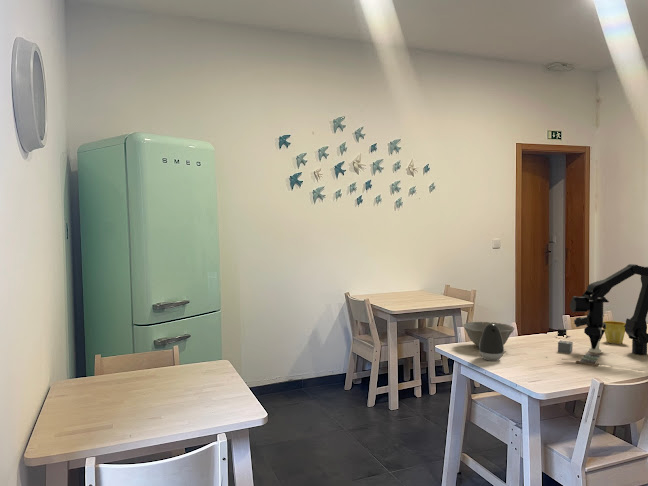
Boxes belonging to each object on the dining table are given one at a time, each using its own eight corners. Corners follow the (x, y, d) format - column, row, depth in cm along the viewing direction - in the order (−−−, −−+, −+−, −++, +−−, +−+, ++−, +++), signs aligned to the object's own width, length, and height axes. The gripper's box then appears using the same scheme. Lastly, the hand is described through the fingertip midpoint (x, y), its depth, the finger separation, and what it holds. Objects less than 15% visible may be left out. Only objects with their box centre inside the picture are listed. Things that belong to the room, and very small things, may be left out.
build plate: (564, 340, 250) (564, 331, 250) (549, 338, 255) (549, 329, 255) (573, 337, 259) (573, 328, 259) (558, 335, 264) (559, 326, 264)
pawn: (589, 350, 226) (590, 328, 225) (601, 352, 223) (602, 330, 223) (588, 352, 222) (589, 330, 221) (600, 354, 219) (601, 331, 219)
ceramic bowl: (454, 347, 233) (454, 326, 232) (476, 339, 250) (477, 319, 249) (500, 356, 218) (500, 333, 217) (521, 347, 234) (521, 326, 234)
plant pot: (597, 340, 248) (597, 321, 248) (613, 339, 251) (613, 320, 251) (615, 345, 238) (615, 325, 238) (631, 344, 242) (632, 324, 241)
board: (586, 350, 228) (586, 349, 228) (606, 353, 223) (606, 352, 223) (575, 363, 207) (575, 361, 207) (597, 366, 202) (597, 364, 202)
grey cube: (560, 351, 228) (560, 340, 227) (572, 352, 225) (572, 341, 224) (557, 353, 223) (558, 342, 223) (570, 355, 221) (570, 343, 220)
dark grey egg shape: (482, 362, 208) (482, 326, 207) (475, 355, 218) (476, 321, 218) (507, 362, 207) (507, 326, 207) (499, 356, 218) (500, 321, 217)
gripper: (579, 307, 234) (578, 340, 234) (571, 313, 219) (571, 348, 219) (606, 310, 227) (605, 344, 228) (600, 315, 212) (599, 352, 213)
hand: (595, 347), depth 222 cm, fingers open, 8 cm apart
